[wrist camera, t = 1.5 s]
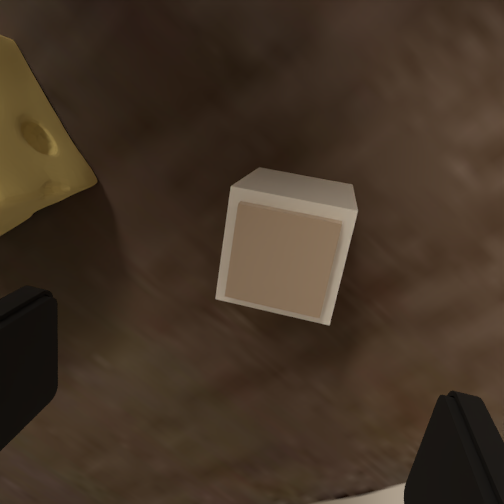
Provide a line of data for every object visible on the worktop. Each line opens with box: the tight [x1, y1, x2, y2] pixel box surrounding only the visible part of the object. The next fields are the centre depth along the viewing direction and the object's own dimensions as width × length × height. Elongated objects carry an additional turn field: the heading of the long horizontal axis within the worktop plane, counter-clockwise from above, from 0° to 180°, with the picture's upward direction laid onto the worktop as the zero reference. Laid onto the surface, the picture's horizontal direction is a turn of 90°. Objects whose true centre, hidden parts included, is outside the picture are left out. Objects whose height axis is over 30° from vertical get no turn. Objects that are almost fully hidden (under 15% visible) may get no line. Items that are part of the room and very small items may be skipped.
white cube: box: [215, 167, 358, 326], centre depth 21 cm, size 6×6×8 cm
